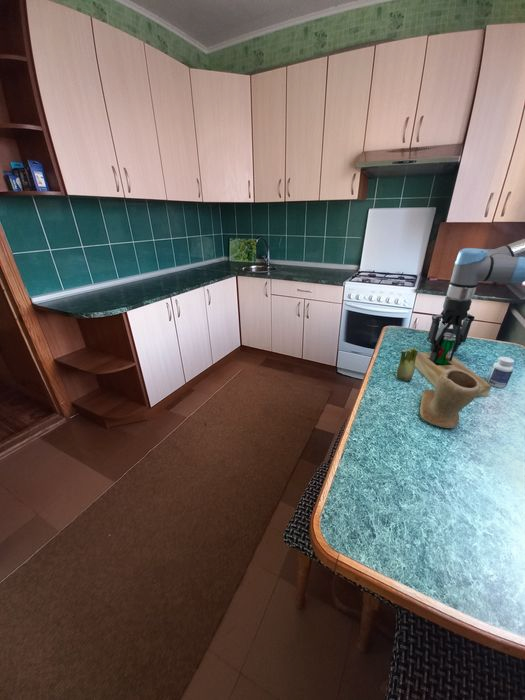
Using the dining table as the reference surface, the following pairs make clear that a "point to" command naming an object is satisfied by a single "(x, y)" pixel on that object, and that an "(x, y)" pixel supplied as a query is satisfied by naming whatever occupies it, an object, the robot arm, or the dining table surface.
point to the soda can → (445, 349)
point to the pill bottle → (501, 372)
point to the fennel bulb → (407, 365)
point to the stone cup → (448, 398)
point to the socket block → (434, 371)
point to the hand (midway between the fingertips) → (440, 359)
